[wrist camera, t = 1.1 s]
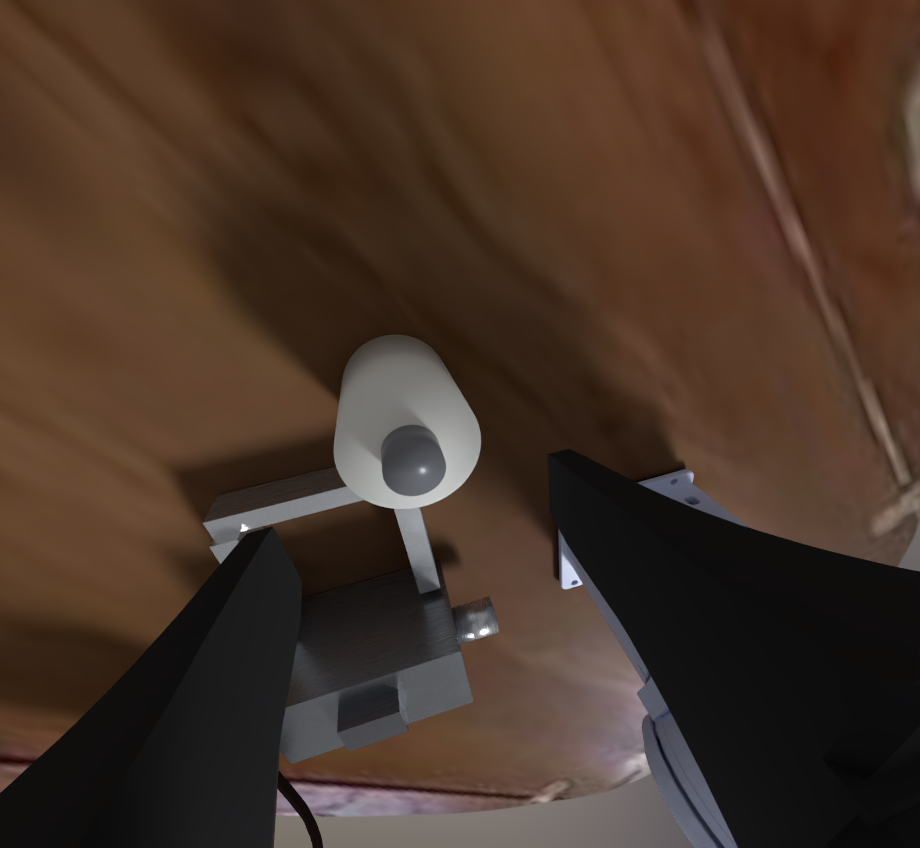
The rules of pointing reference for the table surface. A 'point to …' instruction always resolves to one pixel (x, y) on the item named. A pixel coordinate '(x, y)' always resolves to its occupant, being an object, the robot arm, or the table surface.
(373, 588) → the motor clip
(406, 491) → the white bottle
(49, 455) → the table surface
